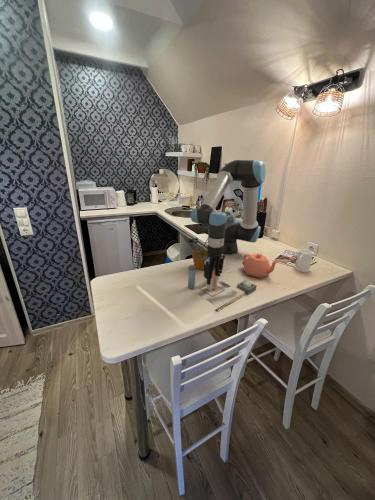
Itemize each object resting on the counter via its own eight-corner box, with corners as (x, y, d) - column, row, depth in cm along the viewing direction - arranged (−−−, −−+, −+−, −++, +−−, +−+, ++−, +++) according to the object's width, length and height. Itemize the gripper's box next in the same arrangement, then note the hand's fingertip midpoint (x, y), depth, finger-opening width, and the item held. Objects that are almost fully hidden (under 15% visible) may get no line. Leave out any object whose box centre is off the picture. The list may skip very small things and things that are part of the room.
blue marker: (186, 287, 114) (187, 266, 110) (191, 284, 116) (192, 264, 112) (191, 290, 112) (192, 269, 107) (195, 287, 114) (197, 267, 110)
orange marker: (205, 288, 114) (206, 267, 109) (209, 286, 116) (211, 265, 111) (211, 291, 111) (212, 270, 107) (215, 288, 114) (216, 267, 109)
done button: (240, 287, 116) (241, 282, 115) (245, 285, 119) (246, 280, 118) (247, 291, 113) (248, 286, 112) (252, 288, 116) (253, 283, 115)
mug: (301, 274, 133) (306, 256, 128) (288, 269, 139) (292, 251, 134) (311, 270, 139) (316, 252, 134) (299, 264, 145) (303, 247, 141)
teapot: (281, 275, 131) (285, 256, 126) (268, 285, 120) (272, 264, 116) (248, 263, 145) (250, 245, 140) (234, 271, 135) (237, 252, 130)
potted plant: (221, 268, 137) (226, 221, 125) (202, 279, 124) (206, 228, 112) (199, 259, 148) (202, 216, 136) (180, 269, 135) (181, 221, 123)
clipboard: (183, 288, 115) (183, 286, 114) (209, 276, 127) (209, 274, 127) (217, 311, 98) (217, 309, 98) (244, 295, 111) (244, 293, 110)
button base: (236, 288, 117) (237, 284, 116) (244, 284, 121) (245, 280, 120) (248, 294, 112) (248, 290, 111) (255, 289, 116) (256, 285, 115)
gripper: (209, 251, 96) (206, 297, 105) (232, 243, 106) (228, 285, 115) (197, 246, 101) (195, 290, 110) (221, 239, 111) (217, 279, 120)
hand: (212, 287), depth 113 cm, fingers closed on orange marker, 3 cm apart
